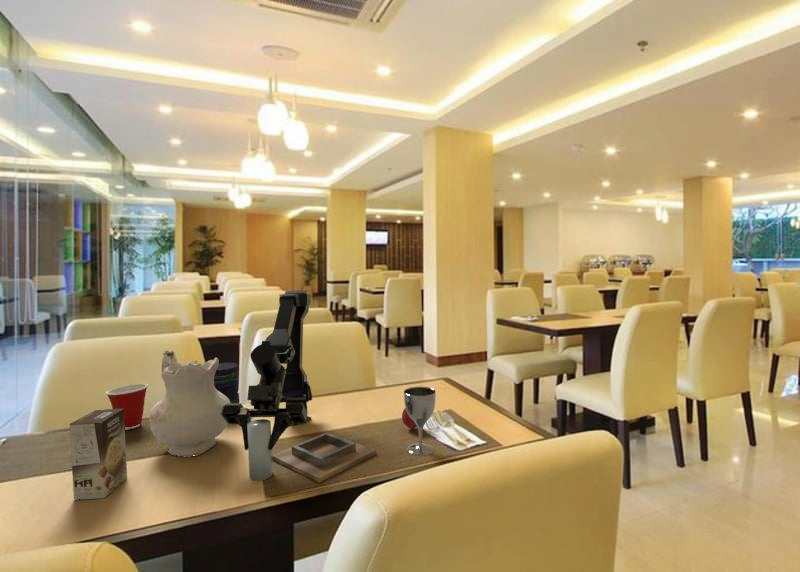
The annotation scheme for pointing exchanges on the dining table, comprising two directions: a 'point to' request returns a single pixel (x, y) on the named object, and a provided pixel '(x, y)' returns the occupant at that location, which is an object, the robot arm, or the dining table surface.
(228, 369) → the storage jar
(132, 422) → the plastic cup
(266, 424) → the ceramic canister
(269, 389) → the robot arm
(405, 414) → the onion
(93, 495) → the coffee box
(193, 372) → the ceramic pitcher
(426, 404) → the wine glass
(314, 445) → the collar board
